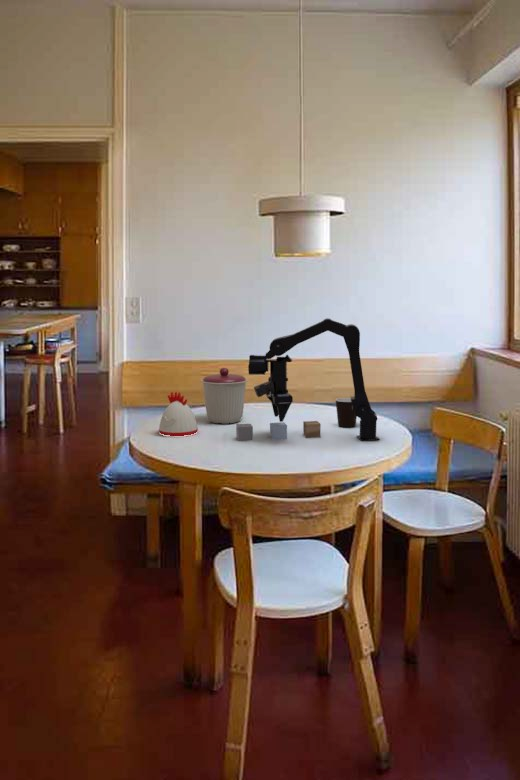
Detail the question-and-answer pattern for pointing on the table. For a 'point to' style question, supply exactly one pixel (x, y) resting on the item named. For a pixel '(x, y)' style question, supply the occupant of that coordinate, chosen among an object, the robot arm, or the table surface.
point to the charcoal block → (244, 432)
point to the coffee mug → (345, 413)
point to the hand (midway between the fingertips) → (278, 418)
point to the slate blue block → (278, 430)
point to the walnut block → (311, 429)
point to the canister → (224, 396)
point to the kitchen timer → (178, 418)
